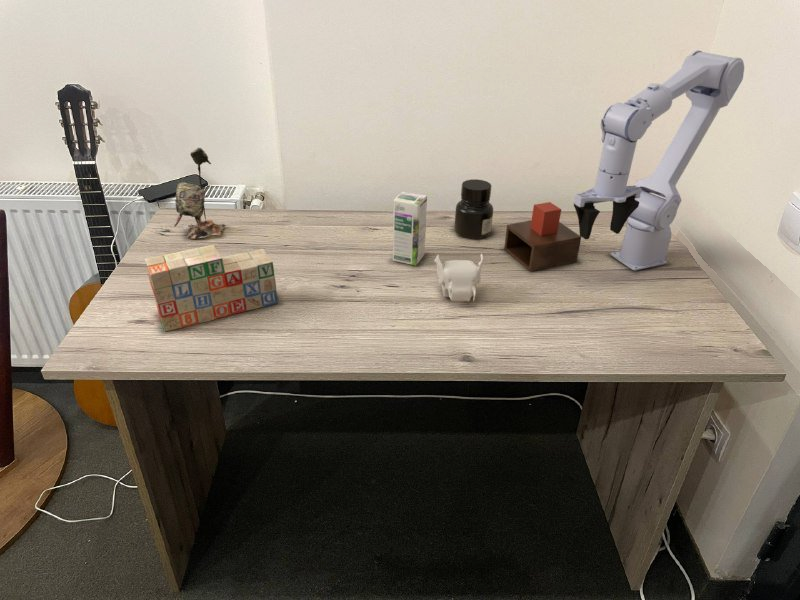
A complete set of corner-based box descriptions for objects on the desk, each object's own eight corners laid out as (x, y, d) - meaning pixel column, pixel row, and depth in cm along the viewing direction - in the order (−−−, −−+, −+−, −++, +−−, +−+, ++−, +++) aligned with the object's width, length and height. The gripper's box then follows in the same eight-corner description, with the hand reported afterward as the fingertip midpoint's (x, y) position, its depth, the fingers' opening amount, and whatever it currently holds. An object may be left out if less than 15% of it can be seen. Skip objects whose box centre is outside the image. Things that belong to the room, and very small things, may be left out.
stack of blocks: (268, 289, 121) (262, 234, 114) (278, 304, 116) (272, 247, 110) (158, 315, 113) (143, 257, 106) (163, 332, 108) (149, 273, 101)
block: (546, 225, 134) (550, 201, 131) (557, 233, 131) (561, 209, 128) (530, 228, 132) (533, 204, 129) (541, 236, 129) (544, 212, 126)
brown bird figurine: (184, 224, 146) (169, 143, 135) (230, 226, 145) (218, 145, 134) (171, 239, 139) (153, 155, 128) (219, 241, 138) (205, 157, 127)
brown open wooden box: (547, 241, 141) (552, 216, 138) (576, 262, 133) (581, 236, 129) (503, 249, 137) (506, 224, 134) (530, 271, 129) (534, 245, 125)
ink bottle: (493, 241, 141) (498, 193, 134) (455, 240, 141) (459, 192, 134) (488, 223, 149) (493, 177, 142) (452, 222, 149) (456, 176, 143)
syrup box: (391, 261, 132) (392, 199, 124) (401, 250, 136) (403, 189, 128) (416, 266, 130) (418, 204, 122) (425, 254, 134) (428, 194, 127)
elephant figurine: (437, 312, 115) (439, 272, 110) (431, 280, 125) (433, 242, 120) (486, 312, 115) (491, 271, 110) (476, 280, 125) (480, 242, 121)
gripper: (596, 181, 108) (582, 248, 115) (658, 172, 113) (641, 237, 120) (572, 168, 114) (560, 233, 121) (633, 160, 119) (618, 223, 126)
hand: (599, 234), depth 121 cm, fingers open, 7 cm apart
